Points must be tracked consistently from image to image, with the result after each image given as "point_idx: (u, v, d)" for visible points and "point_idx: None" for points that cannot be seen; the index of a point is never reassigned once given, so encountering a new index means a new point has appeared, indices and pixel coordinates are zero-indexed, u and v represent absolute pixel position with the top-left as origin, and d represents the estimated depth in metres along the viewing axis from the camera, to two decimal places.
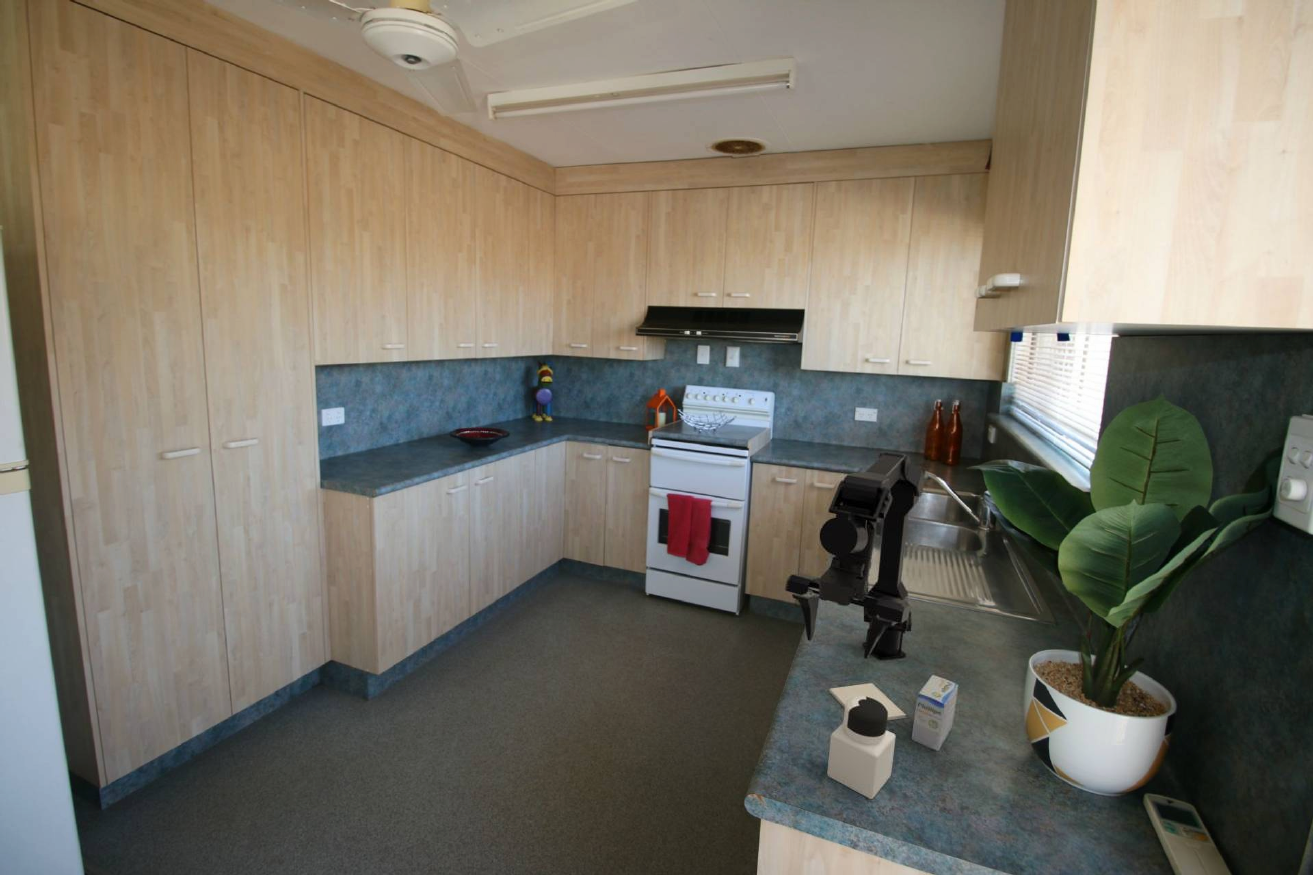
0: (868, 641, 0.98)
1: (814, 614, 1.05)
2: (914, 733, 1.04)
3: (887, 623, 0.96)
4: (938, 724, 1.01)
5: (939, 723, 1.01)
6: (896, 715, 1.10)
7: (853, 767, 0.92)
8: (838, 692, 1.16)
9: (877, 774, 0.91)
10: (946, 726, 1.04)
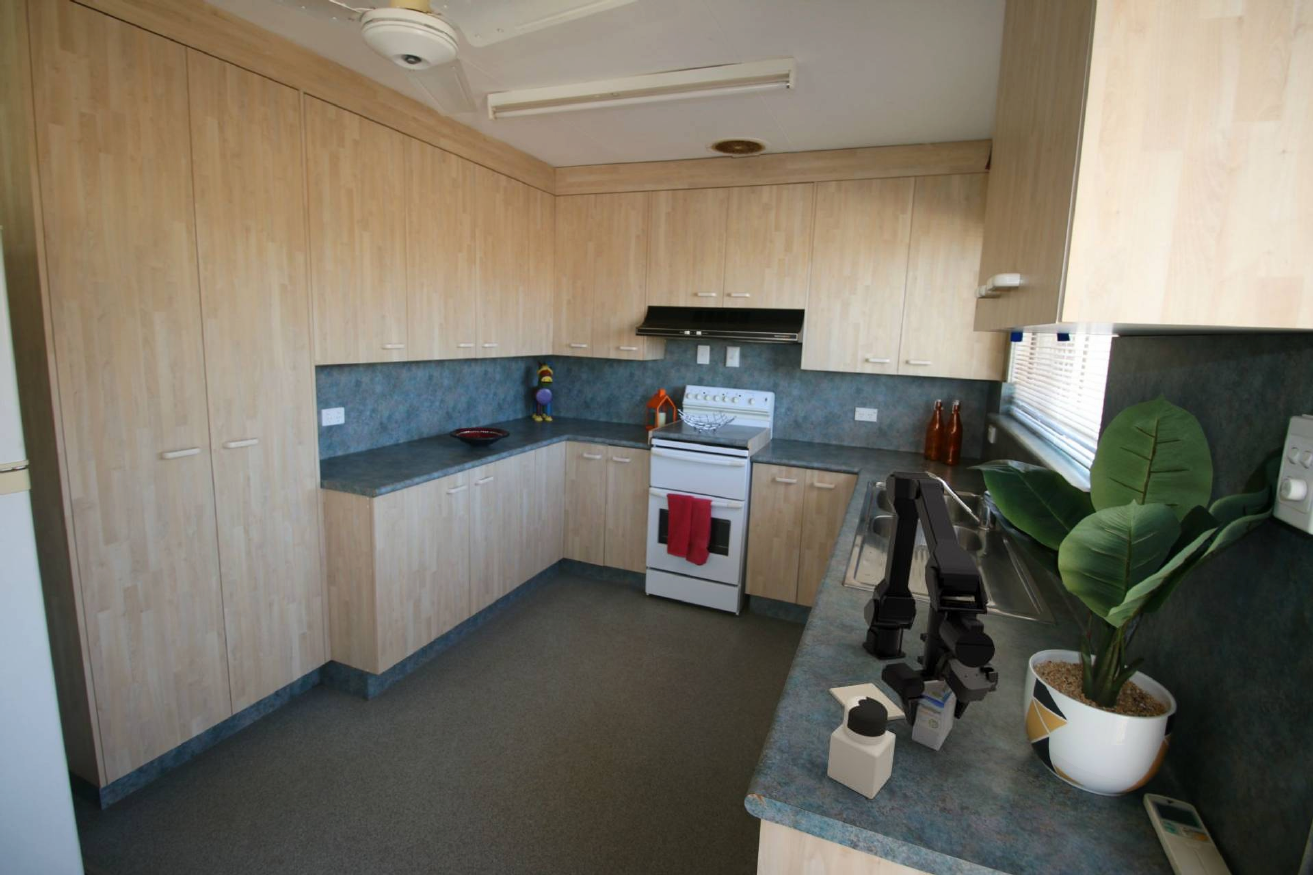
0: (964, 705, 1.05)
1: None
2: (914, 733, 1.04)
3: None
4: (938, 724, 1.01)
5: (939, 723, 1.01)
6: (896, 715, 1.10)
7: (853, 767, 0.92)
8: (838, 692, 1.16)
9: (877, 774, 0.91)
10: (946, 726, 1.04)
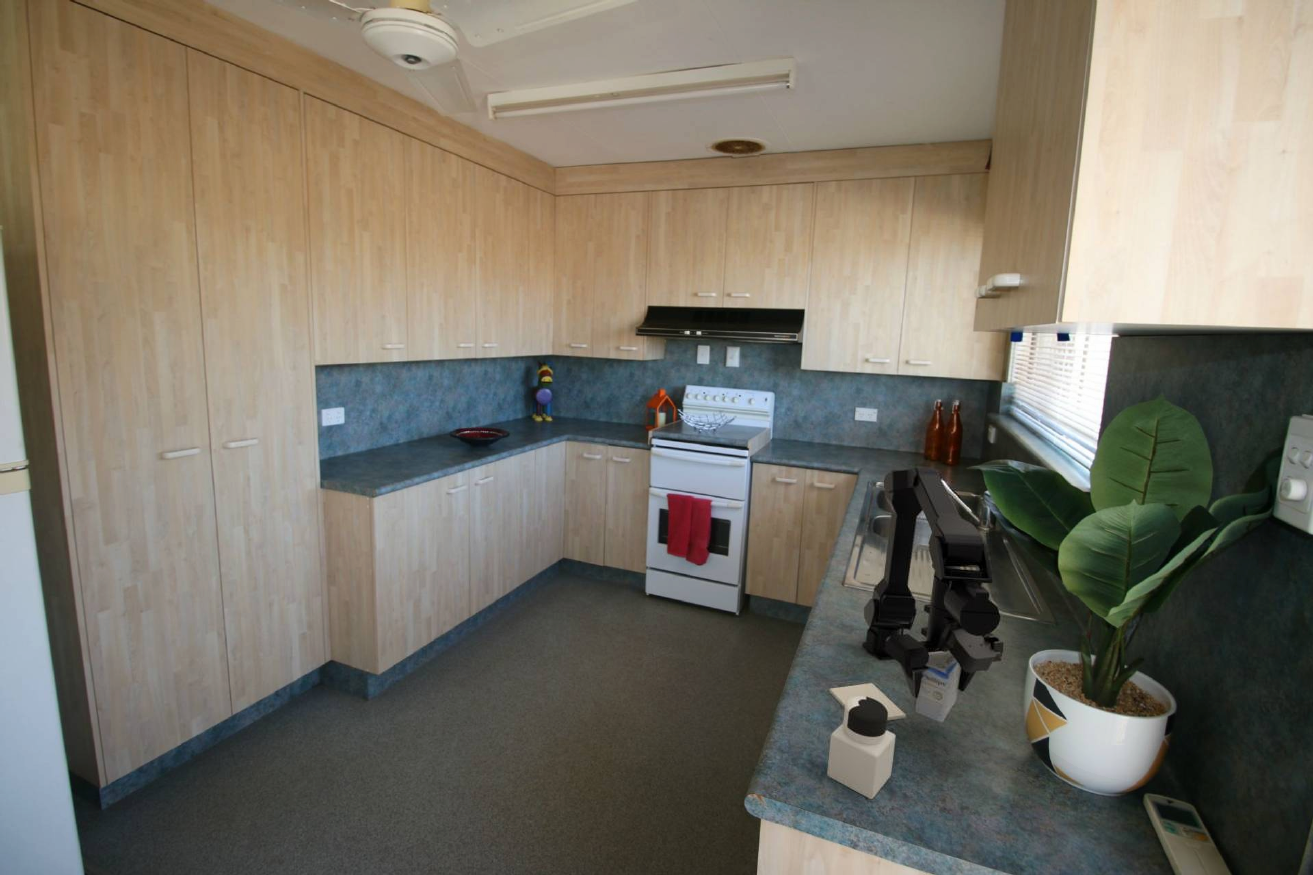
0: (968, 677, 1.04)
1: None
2: (918, 705, 1.03)
3: None
4: (942, 695, 1.00)
5: (943, 694, 1.00)
6: (896, 715, 1.10)
7: (853, 767, 0.92)
8: (838, 692, 1.16)
9: (877, 774, 0.91)
10: (950, 698, 1.03)
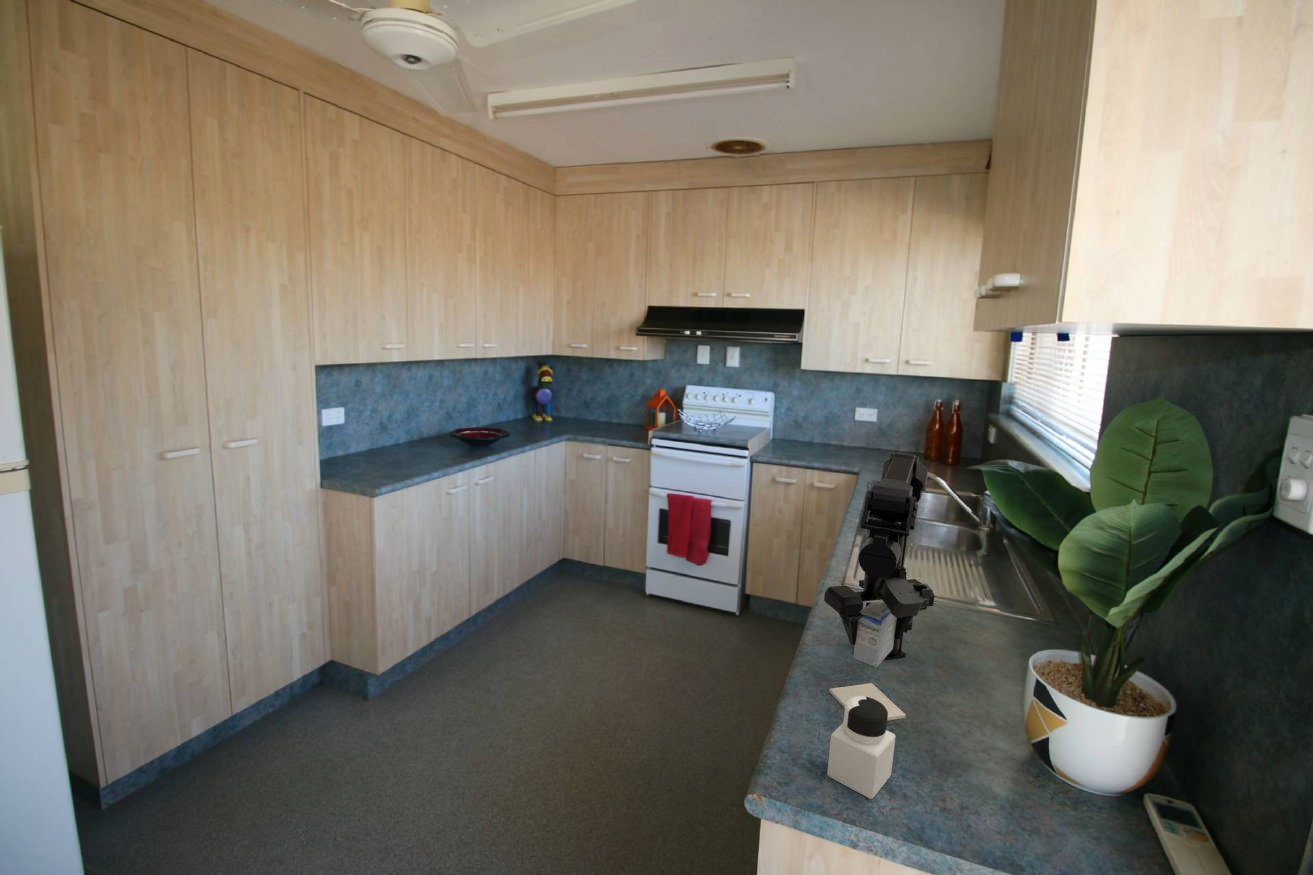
0: (903, 626, 1.11)
1: None
2: (855, 651, 1.10)
3: (925, 609, 1.10)
4: (876, 641, 1.07)
5: (877, 640, 1.07)
6: (896, 715, 1.10)
7: (853, 767, 0.92)
8: (838, 692, 1.16)
9: (877, 774, 0.91)
10: (885, 644, 1.10)
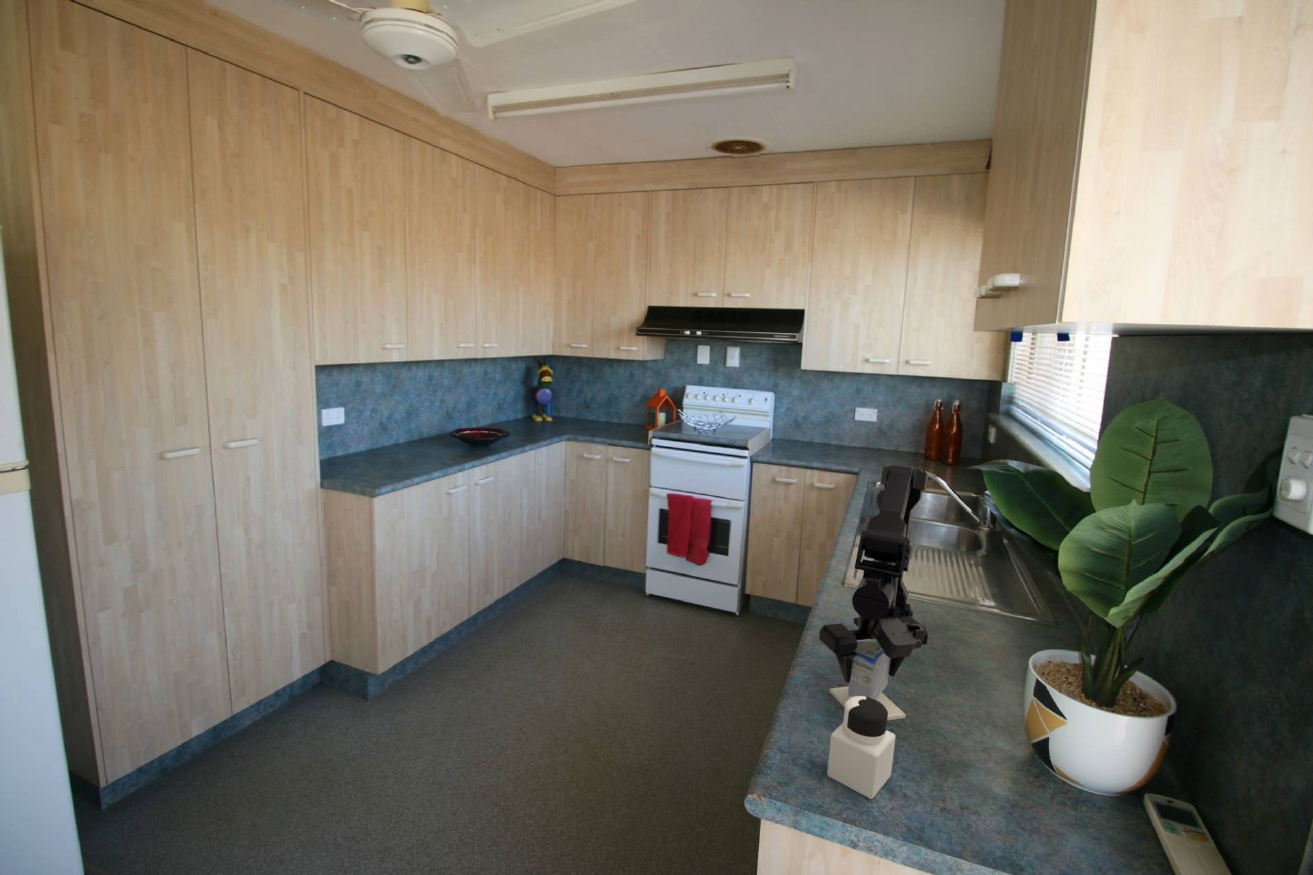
0: (897, 663, 1.13)
1: None
2: (850, 689, 1.11)
3: None
4: (870, 679, 1.09)
5: (871, 678, 1.08)
6: (896, 715, 1.10)
7: (853, 767, 0.92)
8: (838, 692, 1.16)
9: (877, 774, 0.91)
10: (880, 682, 1.11)
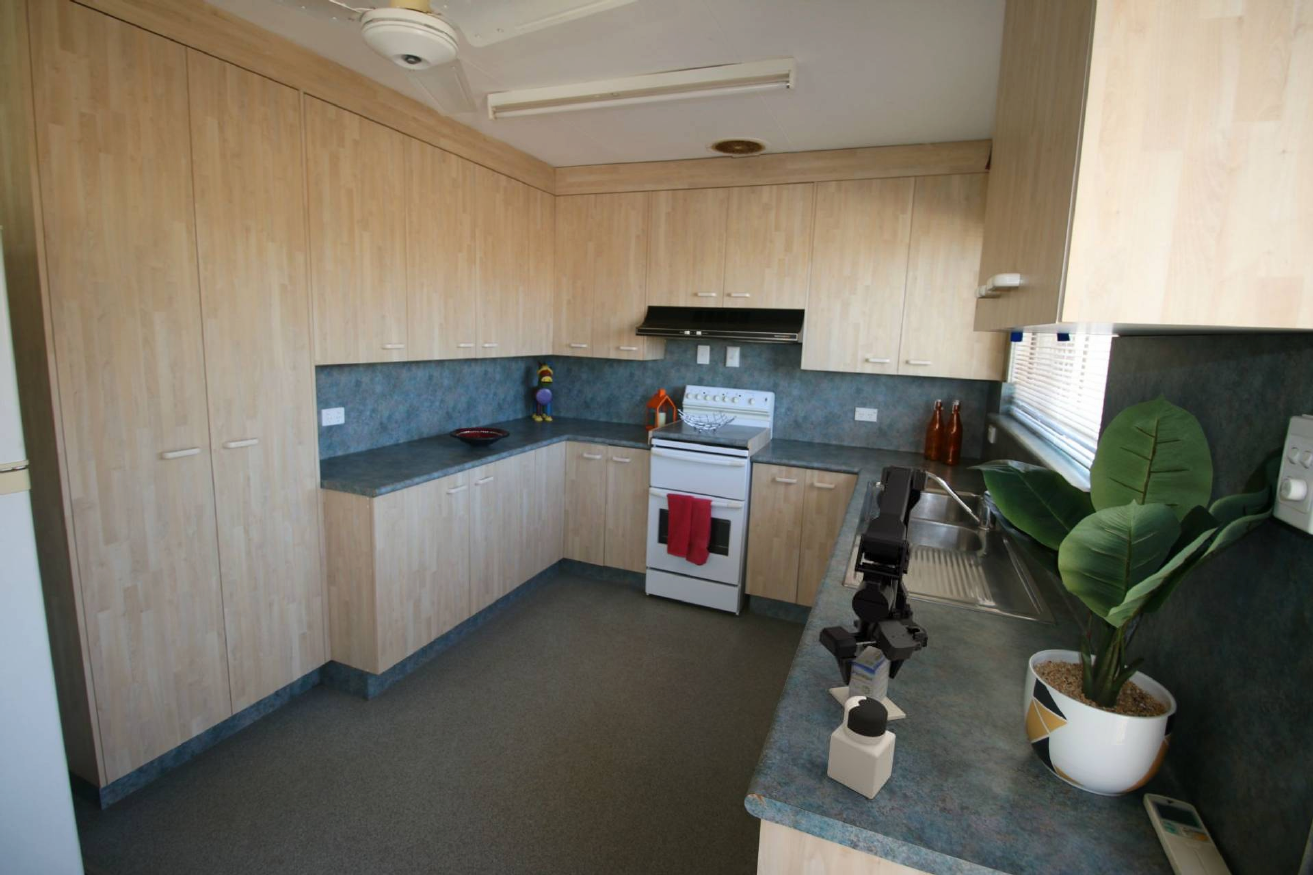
0: (897, 666, 1.13)
1: None
2: None
3: (919, 649, 1.11)
4: (870, 690, 1.09)
5: (871, 688, 1.09)
6: (896, 715, 1.10)
7: (853, 767, 0.92)
8: (838, 692, 1.16)
9: (877, 774, 0.91)
10: (879, 692, 1.11)
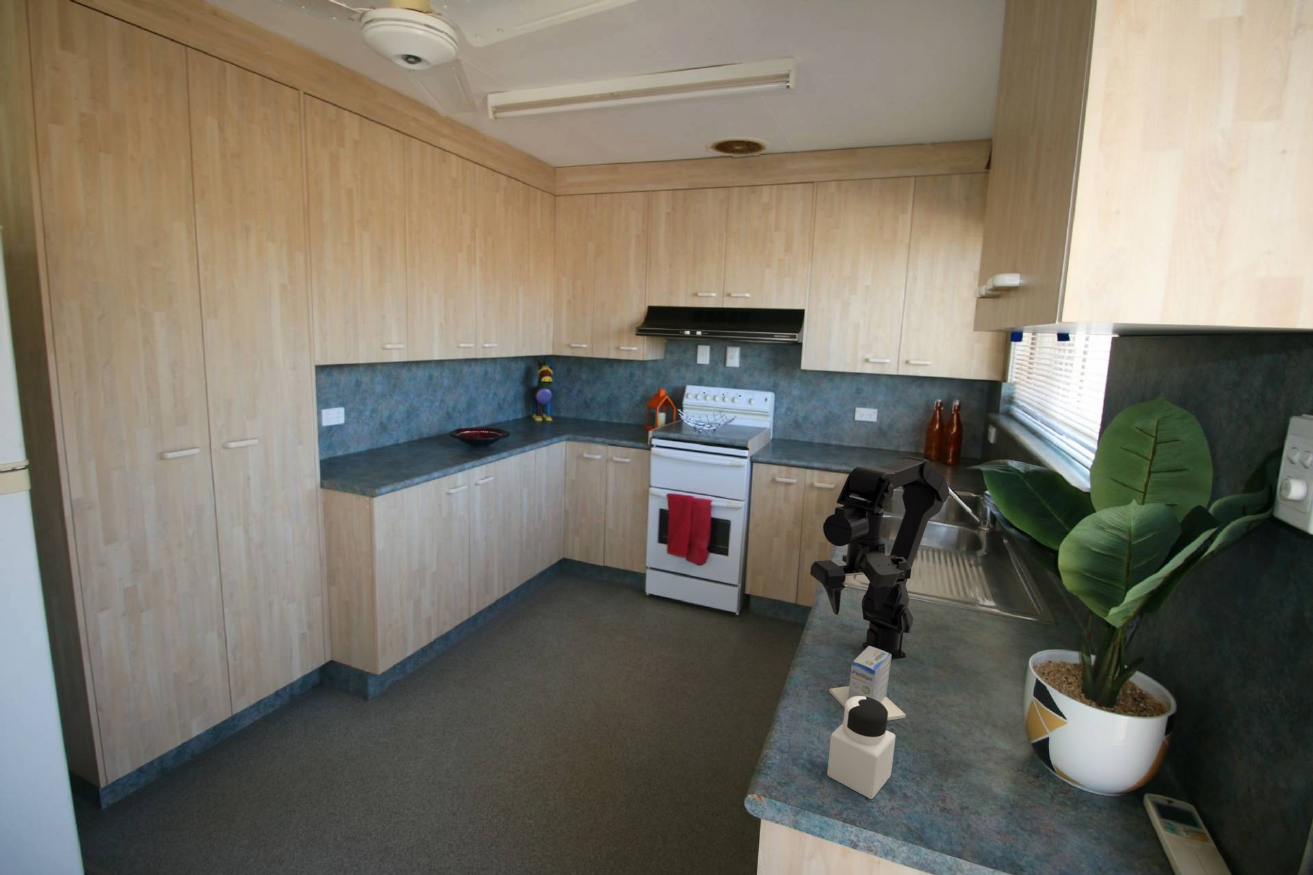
0: (883, 597, 1.21)
1: None
2: None
3: (903, 581, 1.20)
4: (870, 690, 1.09)
5: (871, 688, 1.09)
6: (896, 715, 1.10)
7: (853, 767, 0.92)
8: (838, 692, 1.16)
9: (877, 774, 0.91)
10: (879, 692, 1.11)
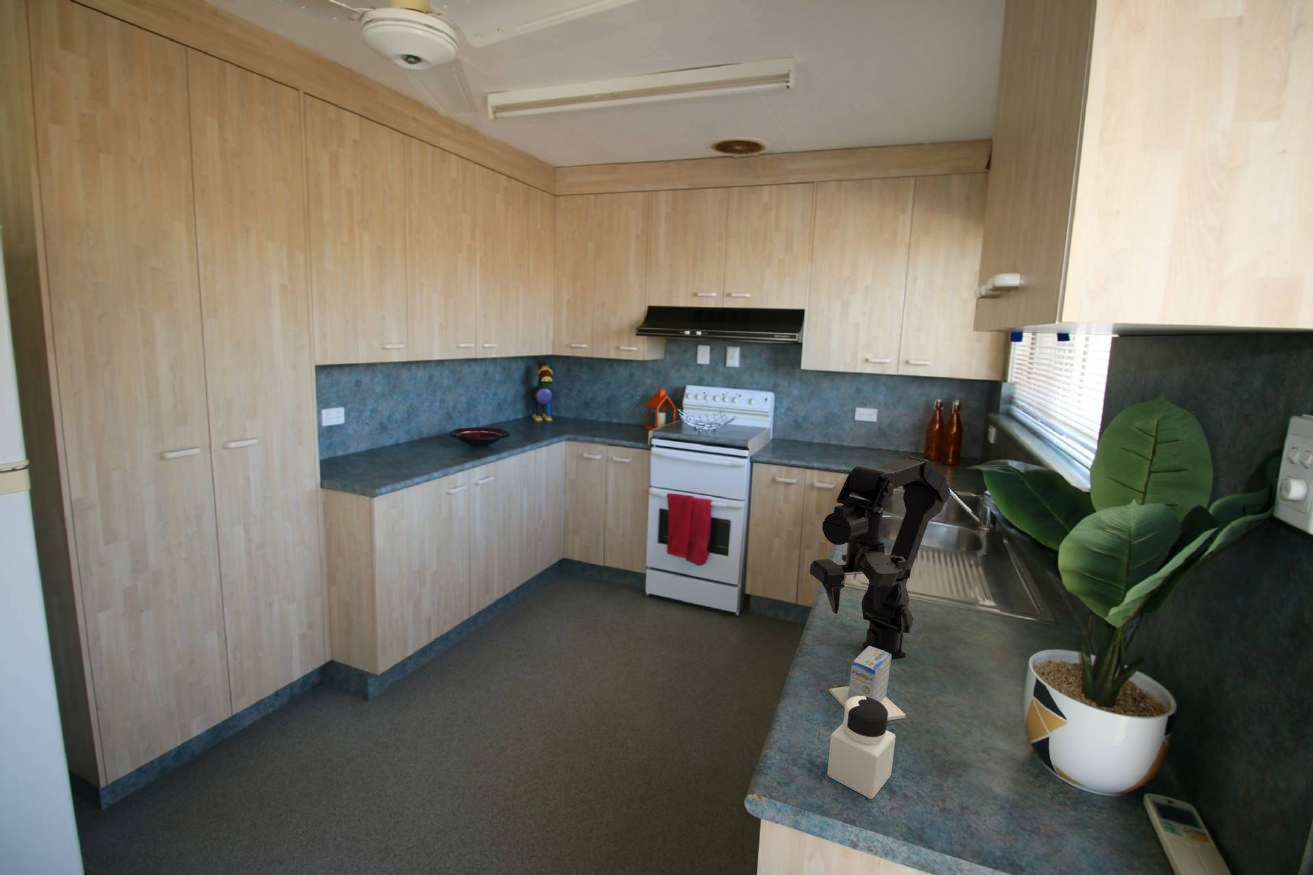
0: (882, 597, 1.22)
1: None
2: None
3: (902, 581, 1.20)
4: (870, 690, 1.09)
5: (871, 688, 1.09)
6: (896, 715, 1.10)
7: (853, 767, 0.92)
8: (838, 692, 1.16)
9: (877, 774, 0.91)
10: (879, 692, 1.11)
